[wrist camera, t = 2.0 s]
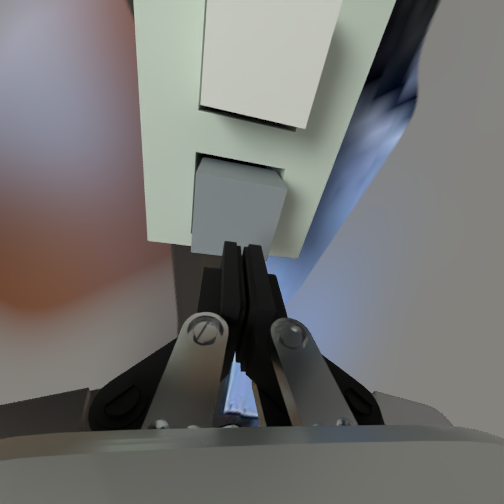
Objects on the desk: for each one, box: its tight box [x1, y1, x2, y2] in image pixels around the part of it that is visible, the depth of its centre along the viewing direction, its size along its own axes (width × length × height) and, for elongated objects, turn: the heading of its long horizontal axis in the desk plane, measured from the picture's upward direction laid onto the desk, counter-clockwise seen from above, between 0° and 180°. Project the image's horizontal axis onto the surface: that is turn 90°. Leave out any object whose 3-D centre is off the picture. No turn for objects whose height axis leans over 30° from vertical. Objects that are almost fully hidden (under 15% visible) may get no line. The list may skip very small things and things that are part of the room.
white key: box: [200, 0, 343, 129], centre depth 11 cm, size 5×5×4 cm
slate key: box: [191, 157, 288, 261], centre depth 15 cm, size 5×5×4 cm
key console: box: [134, 0, 396, 259], centre depth 13 cm, size 24×12×4 cm, turn 169°
